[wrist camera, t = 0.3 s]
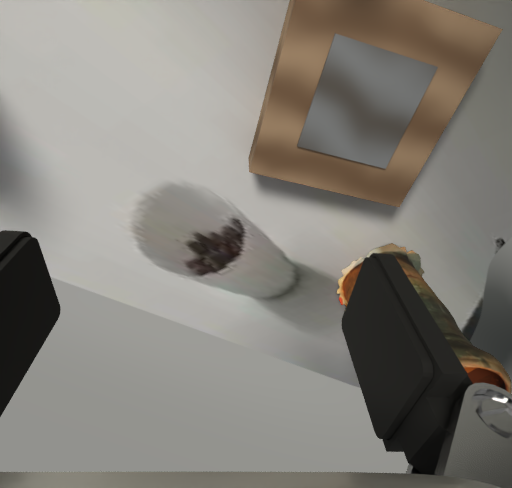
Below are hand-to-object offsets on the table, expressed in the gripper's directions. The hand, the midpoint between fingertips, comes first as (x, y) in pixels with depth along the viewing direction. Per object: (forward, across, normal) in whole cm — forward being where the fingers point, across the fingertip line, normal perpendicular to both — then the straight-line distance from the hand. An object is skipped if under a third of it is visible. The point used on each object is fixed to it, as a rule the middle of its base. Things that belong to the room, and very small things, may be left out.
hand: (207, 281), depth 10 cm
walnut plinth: (+30, -13, 0) cm, 32 cm away
